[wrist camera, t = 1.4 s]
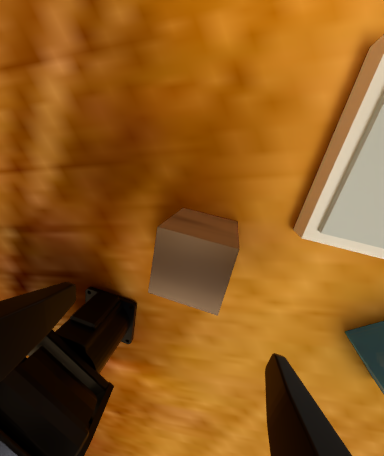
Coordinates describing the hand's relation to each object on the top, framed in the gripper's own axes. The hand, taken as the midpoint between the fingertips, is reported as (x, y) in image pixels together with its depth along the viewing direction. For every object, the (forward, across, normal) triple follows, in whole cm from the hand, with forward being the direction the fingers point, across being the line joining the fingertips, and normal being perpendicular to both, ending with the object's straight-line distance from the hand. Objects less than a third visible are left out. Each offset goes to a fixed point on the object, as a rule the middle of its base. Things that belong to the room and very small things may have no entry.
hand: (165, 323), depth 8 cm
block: (+10, 0, 0) cm, 10 cm away
